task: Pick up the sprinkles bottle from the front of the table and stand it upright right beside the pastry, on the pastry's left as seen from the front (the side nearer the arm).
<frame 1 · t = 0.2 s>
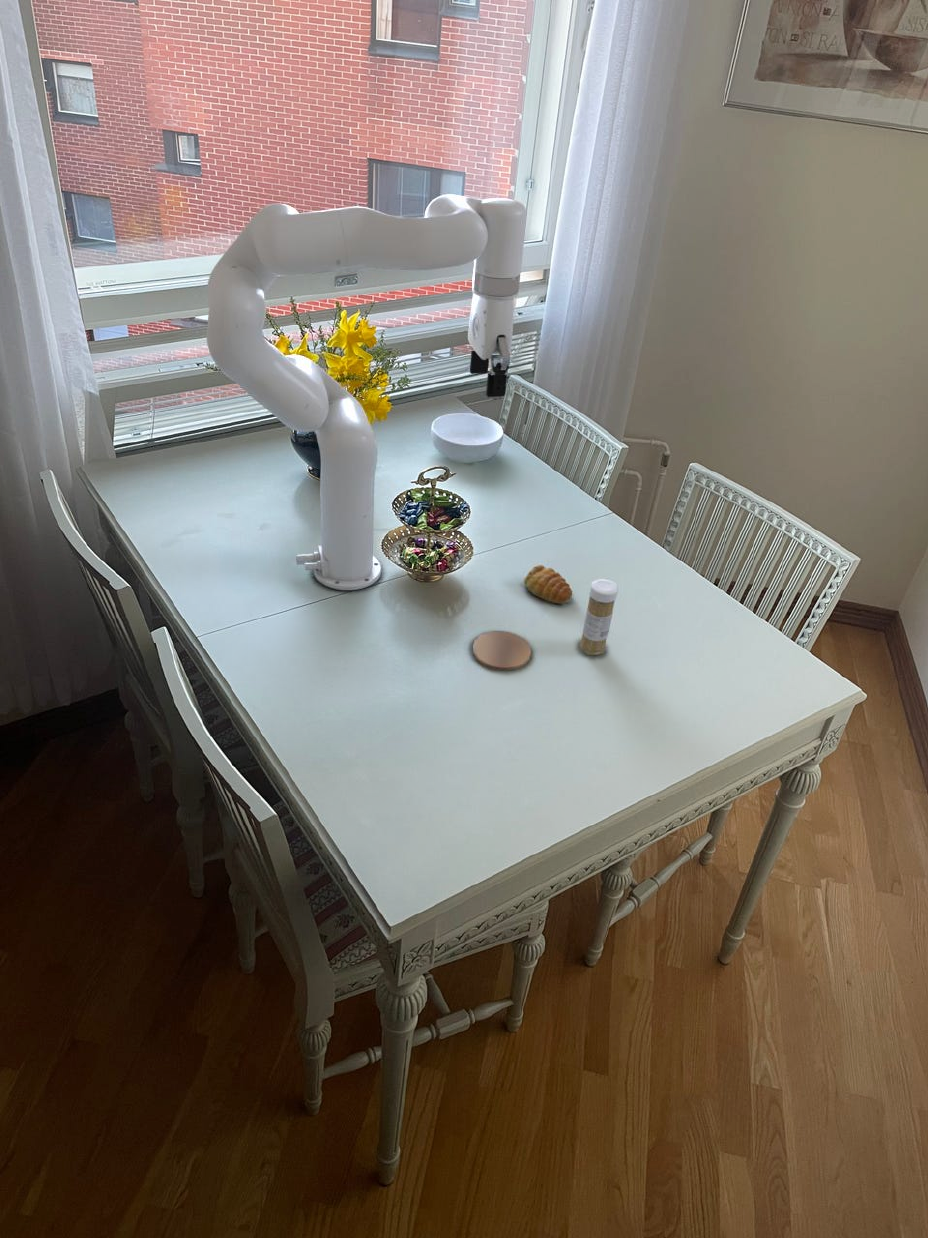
hand: (486, 384, 159), 37 cm above the table, tool pointing down, fingers open, 9 cm apart
cereal bowl: (465, 456, 217), on the table
pastry: (547, 591, 176), on the table
copper coaster: (501, 651, 160), on the table
sprinkles bottle: (591, 649, 163), on the table
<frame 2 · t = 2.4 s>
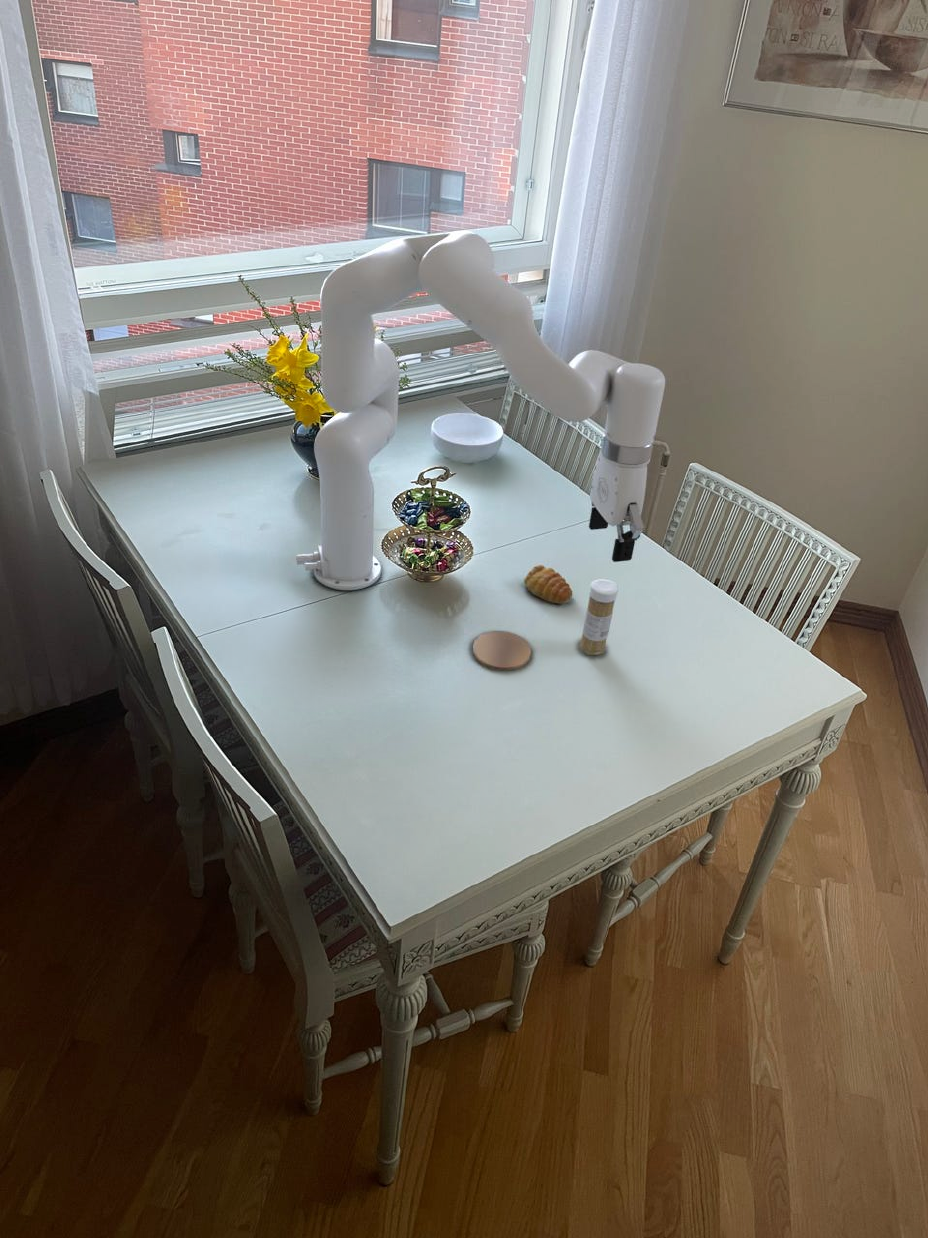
hand: (609, 543, 150), 21 cm above the table, tool pointing down, fingers open, 9 cm apart
nothing on the table moved.
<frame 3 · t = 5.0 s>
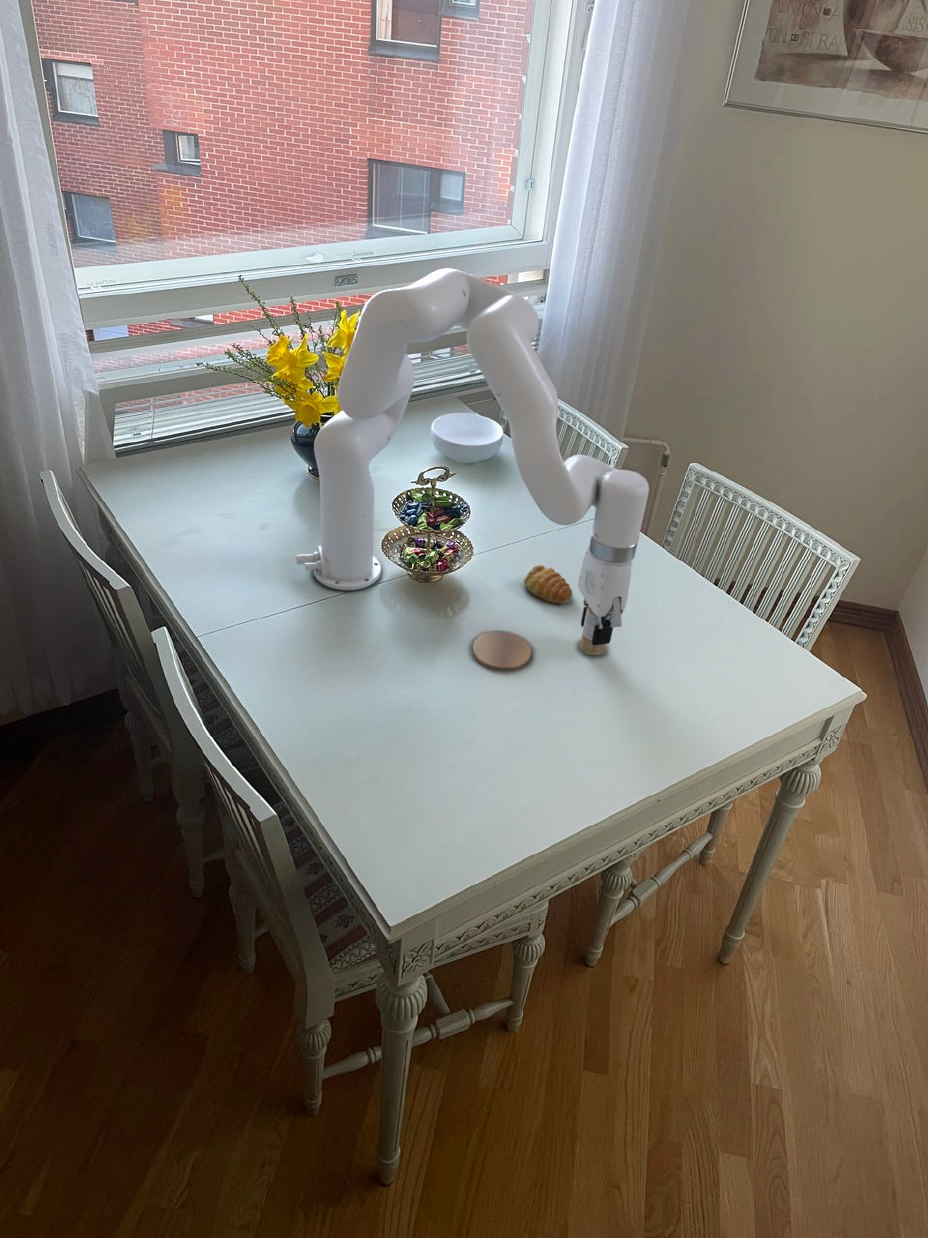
hand: (595, 633, 160), 3 cm above the table, tool pointing down, fingers closed on sprinkles bottle, 4 cm apart
sprinkles bottle: (591, 649, 163), on the table, touching gripper
everything else where it was.
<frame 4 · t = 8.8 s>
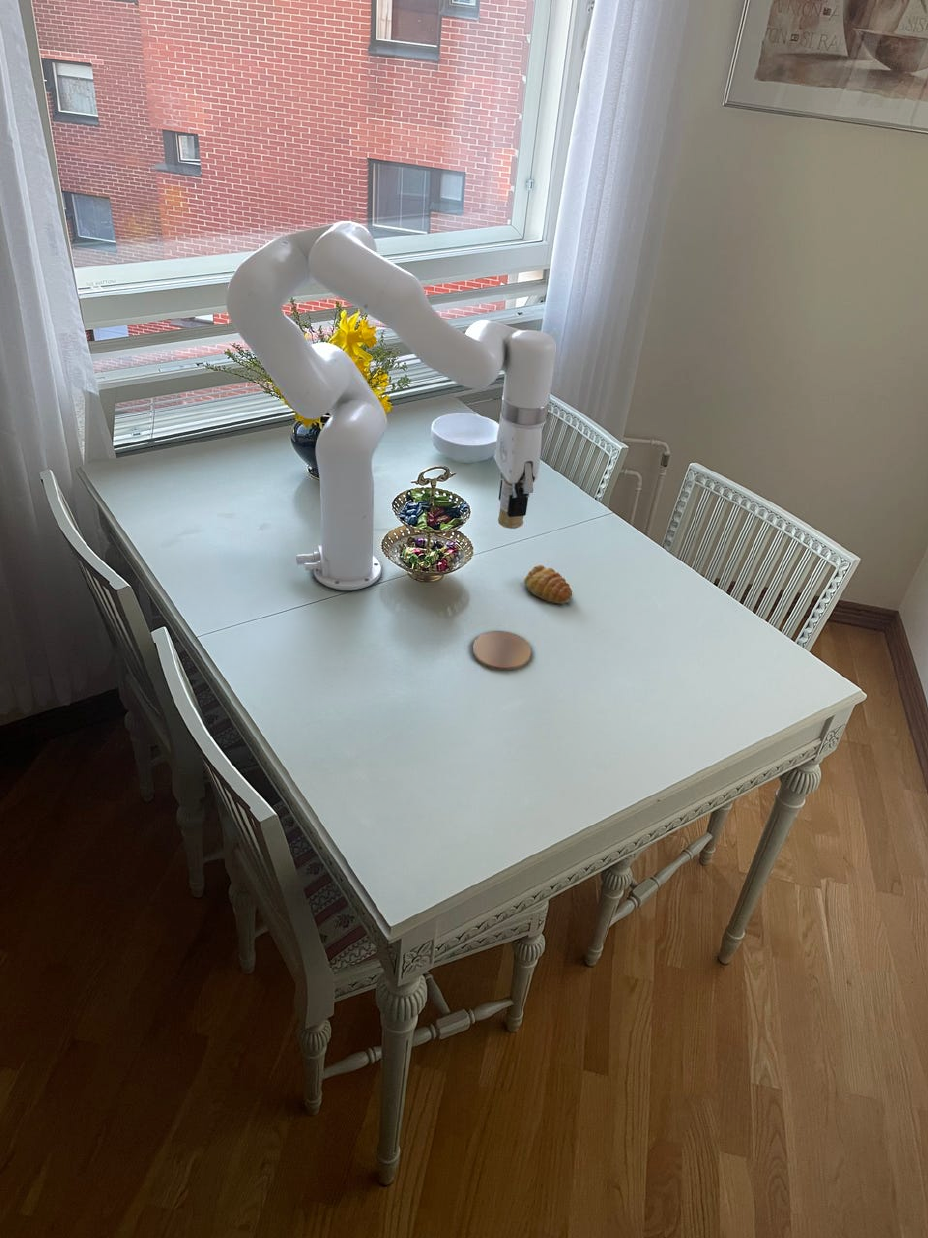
hand: (511, 506, 161), 20 cm above the table, tool pointing down, fingers closed on sprinkles bottle, 4 cm apart
sprinkles bottle: (509, 524, 163), point 16 cm above the table, touching gripper
everything else where it was.
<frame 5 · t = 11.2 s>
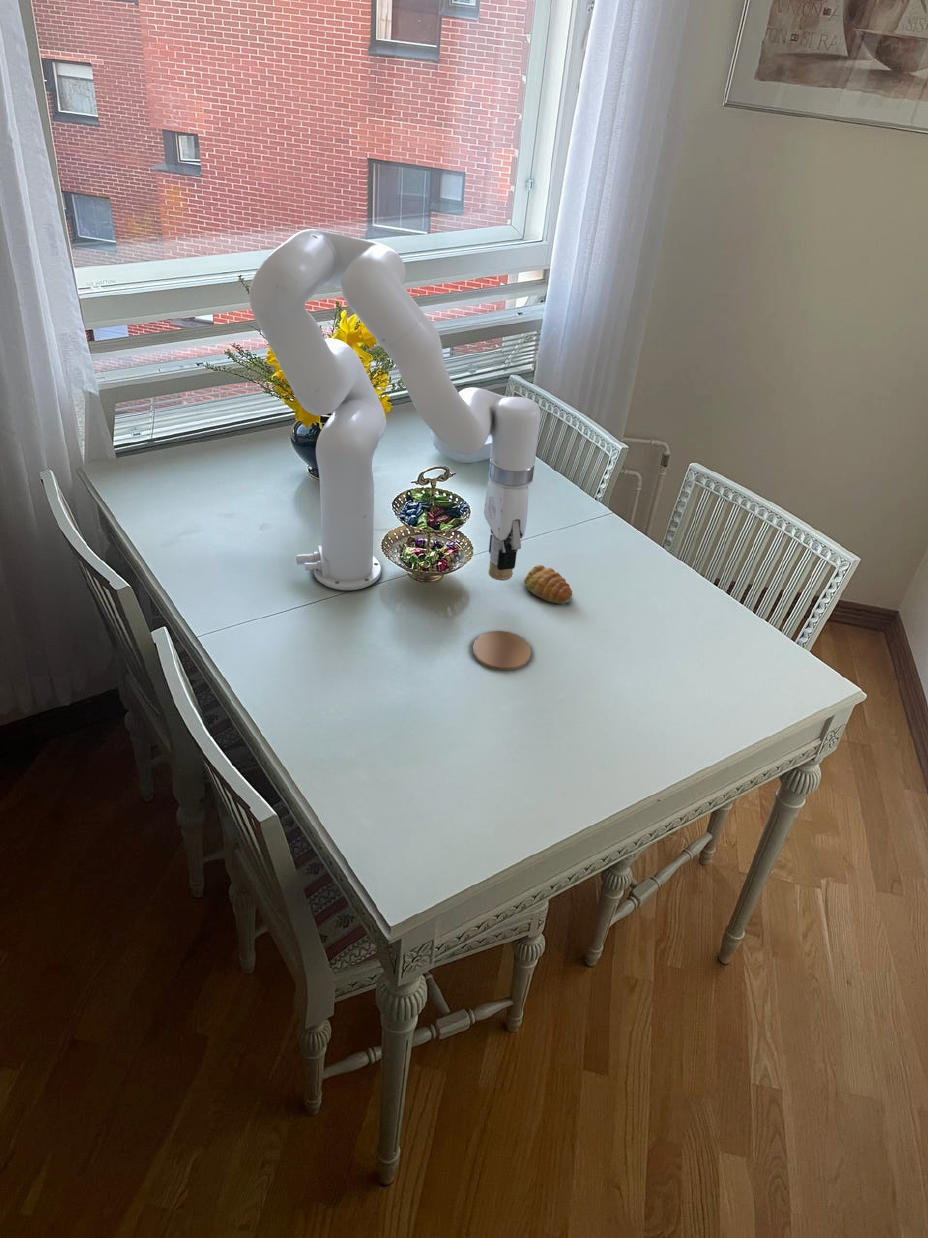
hand: (501, 559, 168), 8 cm above the table, tool pointing down, fingers closed on sprinkles bottle, 4 cm apart
sprinkles bottle: (500, 575, 170), point 5 cm above the table, touching gripper
everything else where it was.
when the fingers open (3 cm above the table, at t = 12.7 s): sprinkles bottle stays where it is, on the table.
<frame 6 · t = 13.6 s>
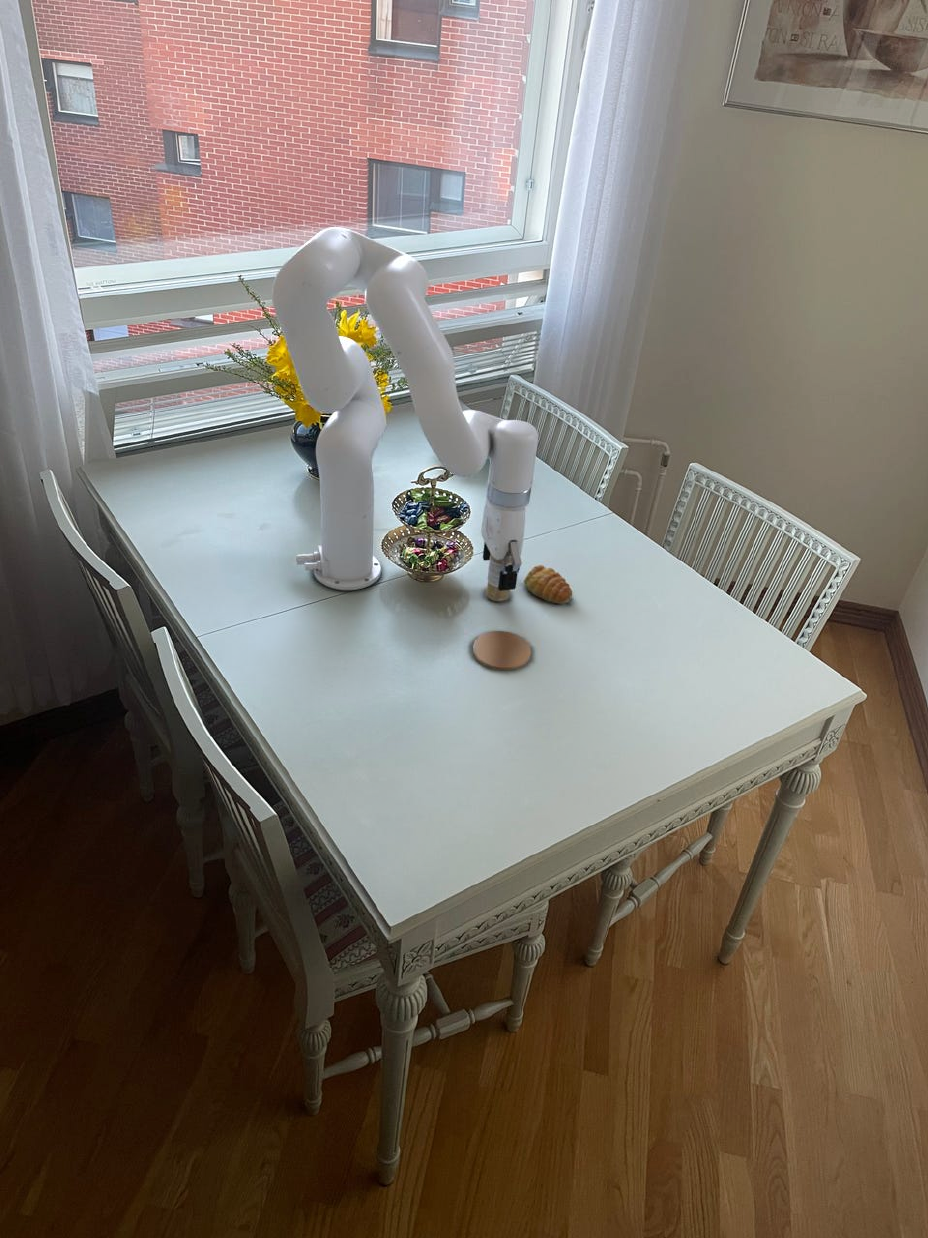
hand: (498, 573, 170), 5 cm above the table, tool pointing down, fingers open, 9 cm apart
sprinkles bottle: (497, 596, 173), on the table
everything else where it was.
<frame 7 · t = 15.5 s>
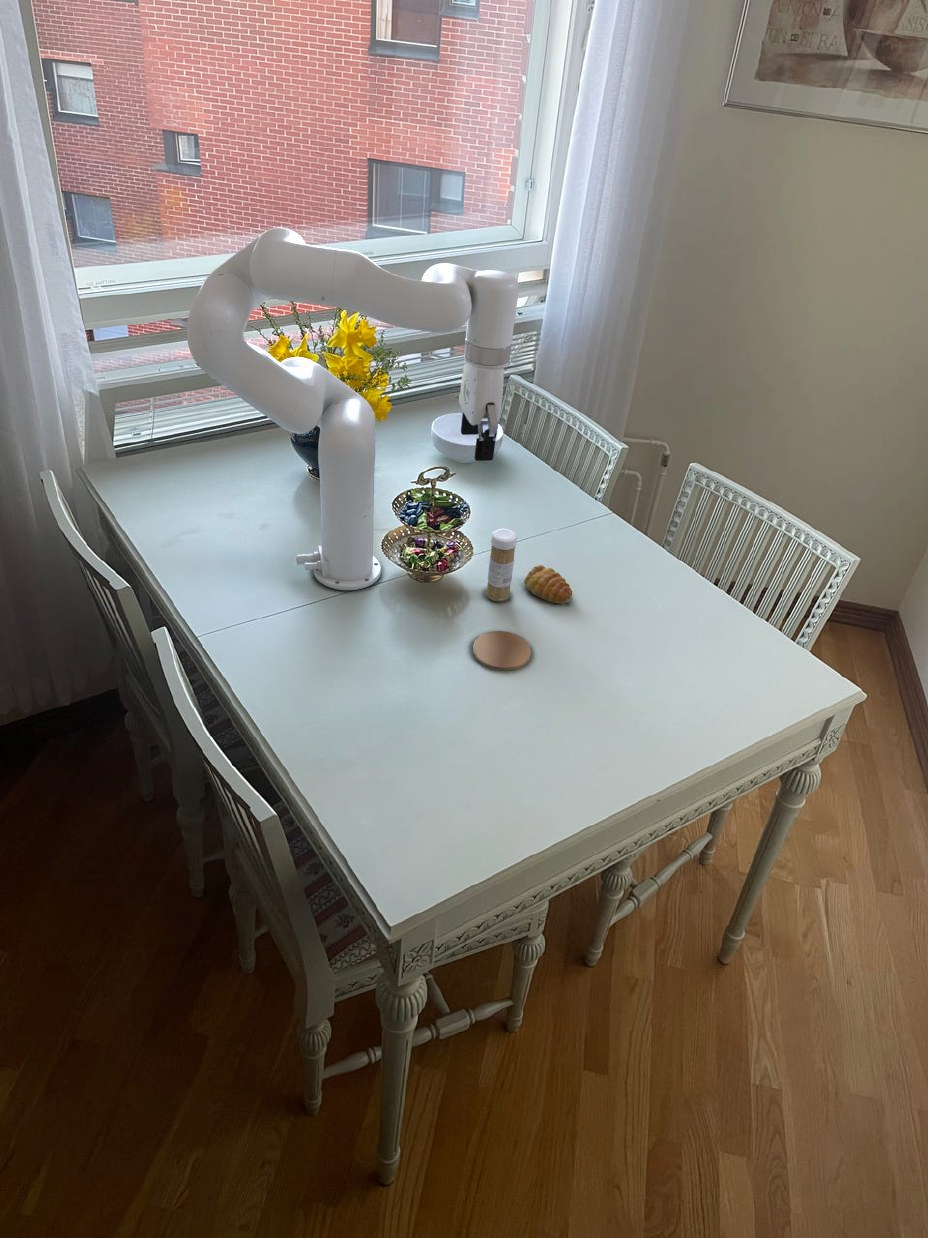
hand: (476, 446, 161), 27 cm above the table, tool pointing down, fingers open, 9 cm apart
nothing on the table moved.
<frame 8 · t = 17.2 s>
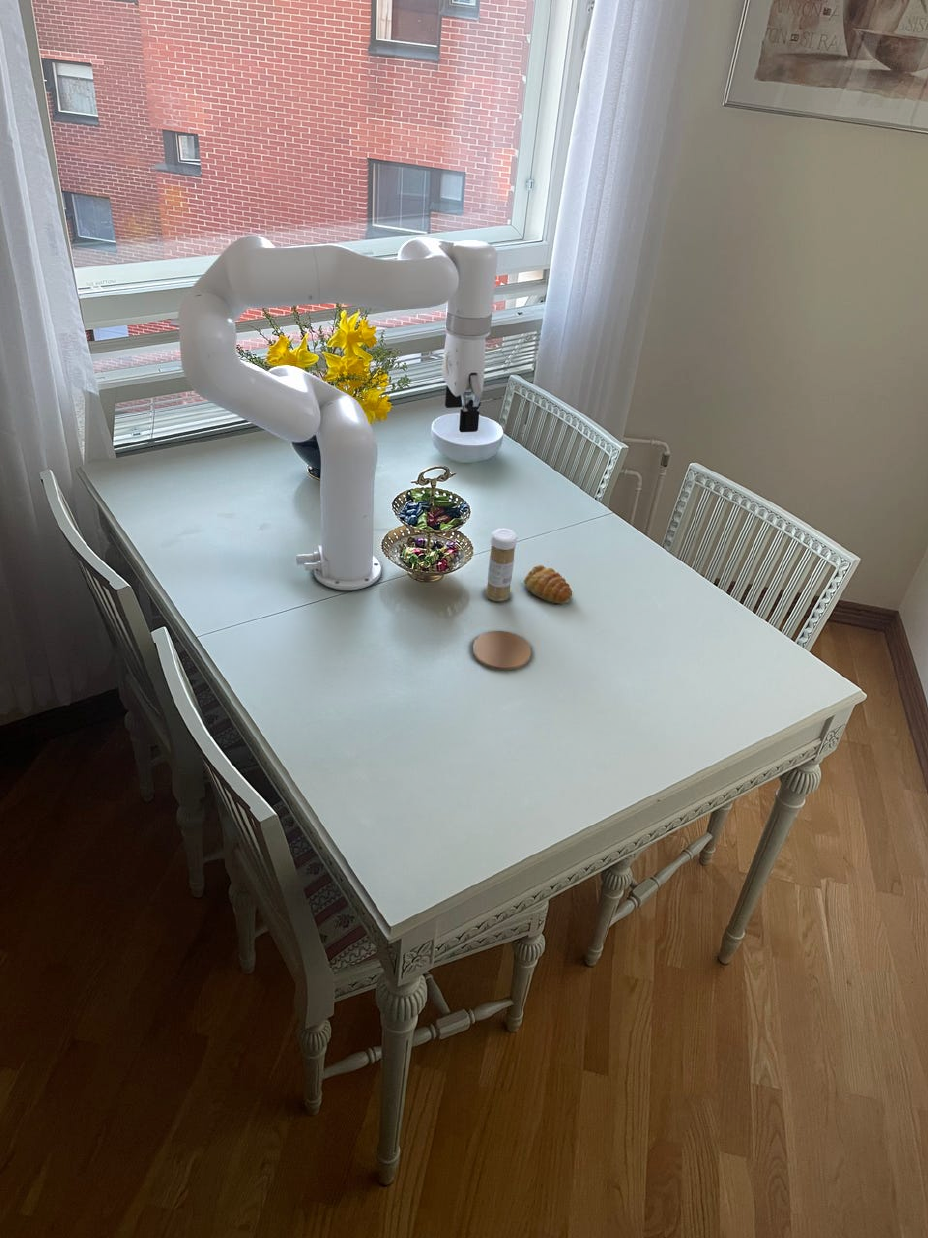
hand: (460, 418, 162), 30 cm above the table, tool pointing down, fingers open, 9 cm apart
nothing on the table moved.
at the end: sprinkles bottle inside the target area on the table beside the pastry (0.1 cm from its centre), on the table; sprinkles bottle tilted 0°; pastry moved 0.2 cm from its start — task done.
